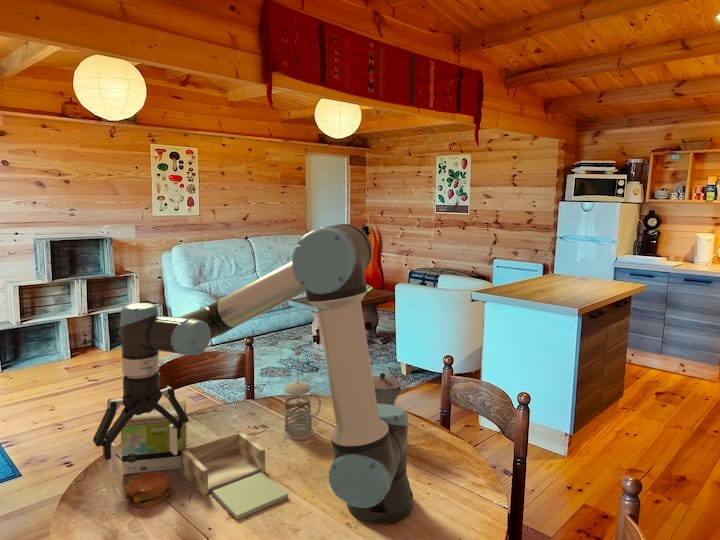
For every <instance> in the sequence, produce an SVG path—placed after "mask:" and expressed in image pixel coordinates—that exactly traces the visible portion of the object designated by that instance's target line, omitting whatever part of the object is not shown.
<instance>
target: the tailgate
mask: <svg viewBox="0 0 720 540" xmlns="http://www.w3.org/2000/svg"><path fill="white" fill-rule="evenodd" d="M210 490H211V492H210V493H212V496H213V497H215V499H217V501H218V502H219V503H220V504H221V505H222V506H223V507H224V508H225V510H227V511H228V512H229V514H230V515H231V516H233V517H234V519H236V520H240V519H242V518H244V517H247V516H249V515H252V514H253V513H256V512H257V511H261V510H263V509H265V508H267V507H269V506H272V505H275V504H277V503H279V502H281V501H284V500H286V499H288V498H289V493H288V492H287V491H286V490H284V489H283V488H282V487H281V486H280V485H278V484H277V483H276V482H274V480H272V479H271V478H270V477H268V476H267V475H266V474H265V472H263V473H262V472H261V470H260V469H258V470H256V471H253V472H250V473H248V474H245V475H242V476H240V477H237V478H234V479H232V480H229V481H226V482H224V483H221V484H218V485H216V486H213V487H211V488H210Z"/></svg>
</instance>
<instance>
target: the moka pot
mask: <svg viewBox="0 0 720 540" xmlns="http://www.w3.org/2000/svg"><path fill="white" fill-rule="evenodd" d="M373 382H374V388H375V394H376V401H377V404H388V405H393V406H395V405H396V404H395V403H396V399H397V398H398V396H399V394H400V393H401V392H402V391H403V388H401V387H400V385H399V381H397V380H396V379H394V378H392V377H390V376H389V377H388V376H386V373H385V372H381V373H380V374H379V376H378V375H377V376H373Z"/></svg>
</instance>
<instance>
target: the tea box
mask: <svg viewBox="0 0 720 540" xmlns="http://www.w3.org/2000/svg"><path fill="white" fill-rule="evenodd" d="M177 401H178V400H177ZM178 403H179V404H180V406H181V407H182V409H183V411H184V412H185V414H186V415H187V407H186V406H187V404H186V403H187V402H186V400H180V401H178ZM158 404H159V405H160V406H162V407H163V408H164V409H165V410H166V411H168V412H169V413H170V414H171V415H172V416H174V417H175V418H176V419H177V418H179V416H178V414H177V413H176V411H175V409H174V408H173V406H172V405H171V403H170V402H169V401H167V402H158ZM172 424H173V423H172V422H170V421H169V420H168V419H167V418H166V417H164V416H163V415H162V414H161V413H159V412H158V411H157V410H156V409H153V410H152V411H151V412H149V413H143V414H141V415H134V416H133V417H132V418H131V419H130V420H129V421H128V422H127V423H126V425H125V426H124V427H123V429H122V430H121V432H120V443H121V466H122V469H121V470H122V475H123V476H124V475H131V474H138V473H146V472H160V471H167V470H169V471H171V470H178V469H181V470H182V466H181V449H185V448H187V423H183V424H182V425H183V426H182V428H181V437H180V439H177V455H174V454H173V453H172V452H171V451H170V431H169V425H172Z"/></svg>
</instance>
